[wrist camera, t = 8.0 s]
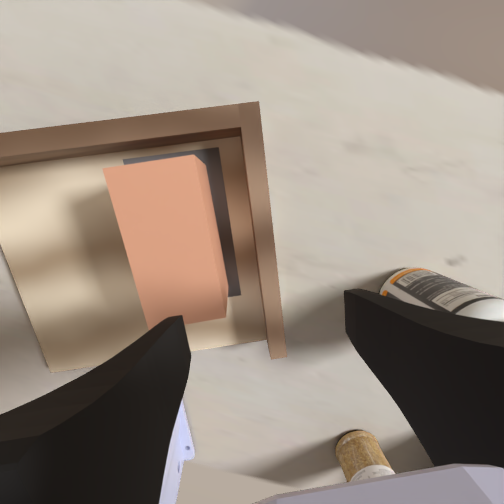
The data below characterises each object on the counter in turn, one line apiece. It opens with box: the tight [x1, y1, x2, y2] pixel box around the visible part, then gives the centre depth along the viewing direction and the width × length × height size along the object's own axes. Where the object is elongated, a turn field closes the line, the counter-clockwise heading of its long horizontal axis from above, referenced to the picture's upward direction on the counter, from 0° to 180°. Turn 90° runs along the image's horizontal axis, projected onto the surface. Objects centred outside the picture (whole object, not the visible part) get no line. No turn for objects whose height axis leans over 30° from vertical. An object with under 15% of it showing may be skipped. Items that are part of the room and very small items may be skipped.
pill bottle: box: [379, 267, 504, 322], centre depth 17 cm, size 6×6×10 cm
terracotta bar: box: [102, 155, 228, 330], centre depth 15 cm, size 9×4×5 cm, turn 9°
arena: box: [0, 101, 287, 373], centre depth 17 cm, size 17×19×4 cm
